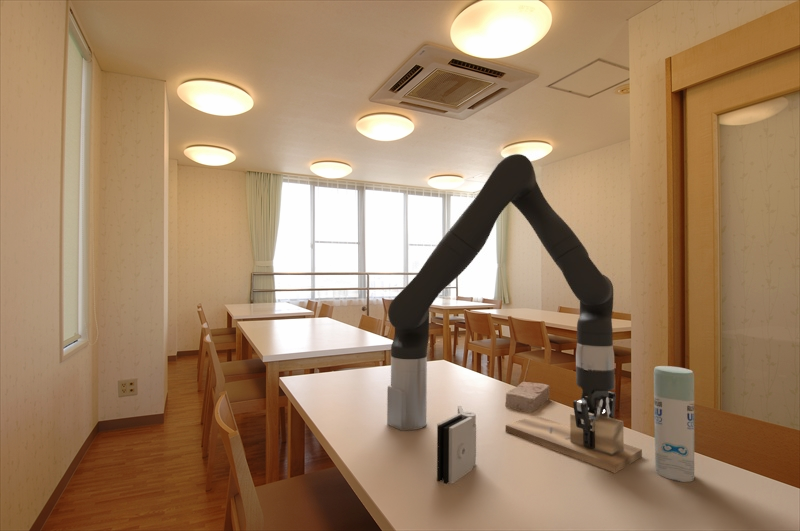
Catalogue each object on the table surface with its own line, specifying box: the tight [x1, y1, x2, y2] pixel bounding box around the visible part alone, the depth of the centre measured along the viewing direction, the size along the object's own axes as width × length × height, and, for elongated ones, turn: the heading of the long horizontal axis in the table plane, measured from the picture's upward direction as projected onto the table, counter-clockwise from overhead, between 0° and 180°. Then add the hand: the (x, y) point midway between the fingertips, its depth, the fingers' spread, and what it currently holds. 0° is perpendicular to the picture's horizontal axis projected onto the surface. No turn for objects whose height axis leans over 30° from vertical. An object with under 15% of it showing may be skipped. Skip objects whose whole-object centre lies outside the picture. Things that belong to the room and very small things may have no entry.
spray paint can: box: [653, 365, 695, 483], centre depth 78 cm, size 6×6×20 cm
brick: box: [504, 381, 550, 413], centre depth 122 cm, size 16×8×5 cm, turn 144°
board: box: [505, 415, 643, 474], centre depth 92 cm, size 12×26×2 cm, turn 37°
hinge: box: [436, 405, 477, 485], centre depth 80 cm, size 14×5×10 cm, turn 153°
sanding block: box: [569, 412, 625, 456], centre depth 87 cm, size 5×9×6 cm, turn 37°
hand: (595, 444), depth 87 cm, fingers closed on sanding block, 5 cm apart
